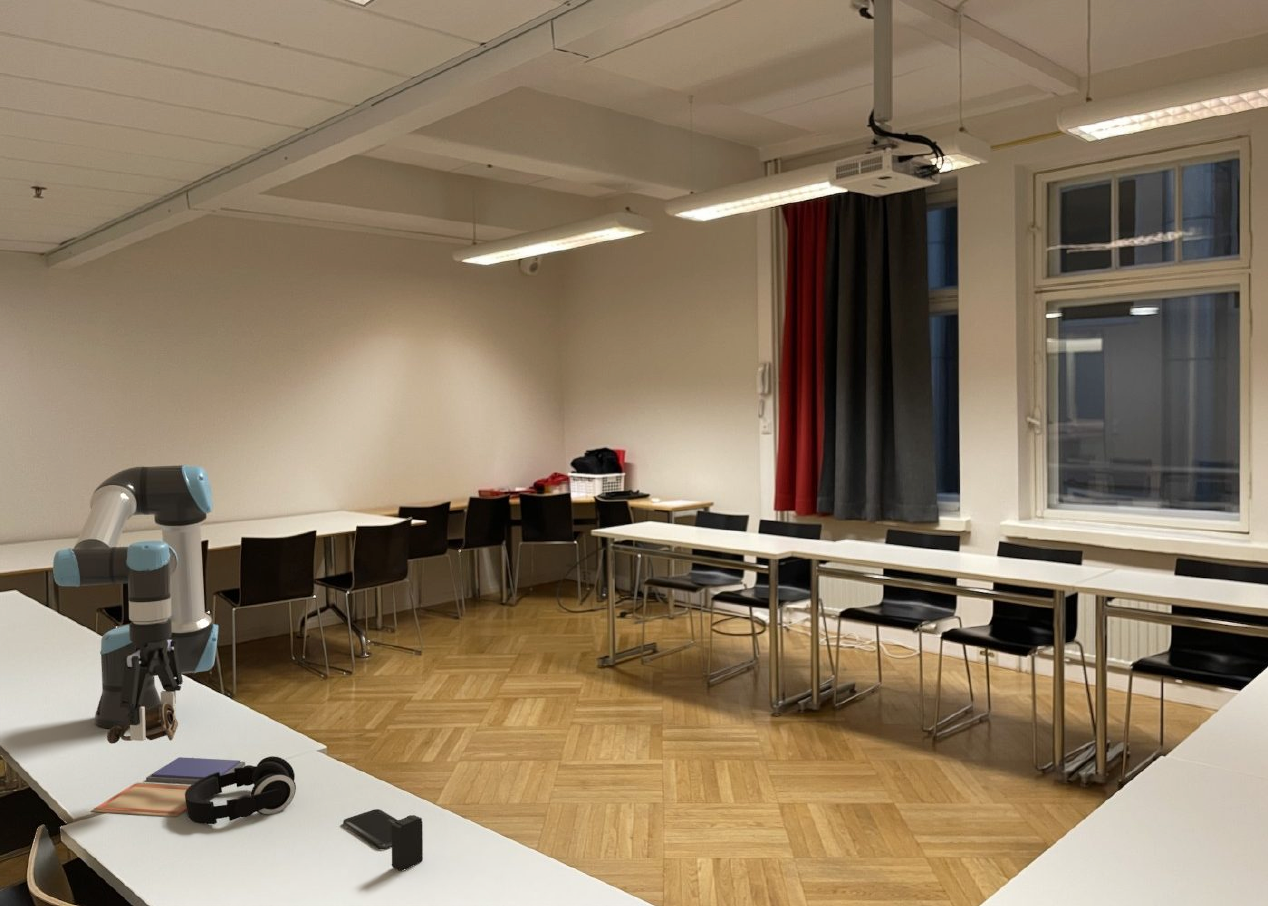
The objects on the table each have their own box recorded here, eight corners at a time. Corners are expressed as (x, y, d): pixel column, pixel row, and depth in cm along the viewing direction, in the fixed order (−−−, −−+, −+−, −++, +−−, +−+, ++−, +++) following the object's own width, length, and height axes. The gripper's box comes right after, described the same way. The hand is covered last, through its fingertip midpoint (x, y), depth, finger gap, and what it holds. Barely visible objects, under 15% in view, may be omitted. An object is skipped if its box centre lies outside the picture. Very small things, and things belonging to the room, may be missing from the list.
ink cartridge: (414, 857, 170) (414, 813, 169) (423, 861, 168) (422, 816, 168) (391, 868, 166) (390, 822, 165) (399, 872, 164) (399, 826, 164)
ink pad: (177, 761, 214) (177, 756, 214) (245, 765, 212) (245, 759, 212) (146, 780, 204) (146, 775, 204) (216, 785, 201) (216, 779, 201)
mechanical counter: (156, 723, 186) (187, 697, 196) (96, 714, 188) (130, 688, 198) (159, 756, 188) (190, 728, 198) (100, 746, 190) (133, 719, 200)
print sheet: (137, 783, 202) (137, 782, 202) (217, 788, 200) (217, 786, 200) (90, 811, 188) (90, 810, 188) (176, 817, 186) (176, 816, 186)
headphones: (293, 775, 186) (178, 802, 179) (299, 815, 186) (185, 843, 179) (292, 745, 202) (187, 768, 196) (297, 781, 203) (193, 806, 196)
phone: (380, 847, 172) (341, 820, 183) (381, 853, 172) (341, 826, 183) (419, 833, 178) (378, 807, 188) (419, 839, 178) (378, 813, 188)
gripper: (166, 607, 203) (169, 712, 205) (95, 632, 182) (99, 750, 183) (199, 608, 202) (202, 714, 204) (132, 633, 181) (135, 752, 182)
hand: (153, 731), depth 193 cm, fingers closed on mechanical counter, 9 cm apart
